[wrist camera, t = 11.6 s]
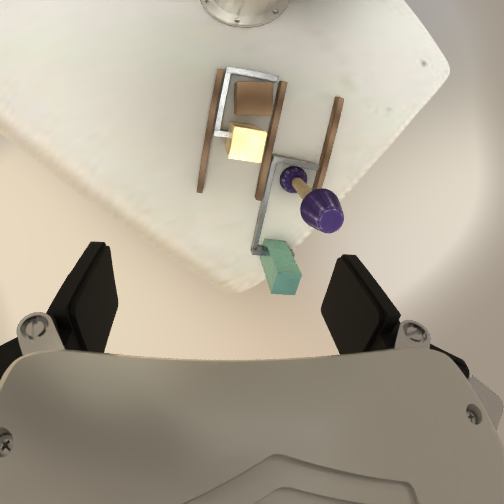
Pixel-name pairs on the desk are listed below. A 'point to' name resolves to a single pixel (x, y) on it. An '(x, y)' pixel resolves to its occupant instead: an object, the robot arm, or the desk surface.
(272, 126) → the lane rails
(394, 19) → the desk surface
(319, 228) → the toy lamp
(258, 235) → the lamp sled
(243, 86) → the walnut cube
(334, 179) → the desk surface
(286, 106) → the desk surface
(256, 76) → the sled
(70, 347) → the robot arm
